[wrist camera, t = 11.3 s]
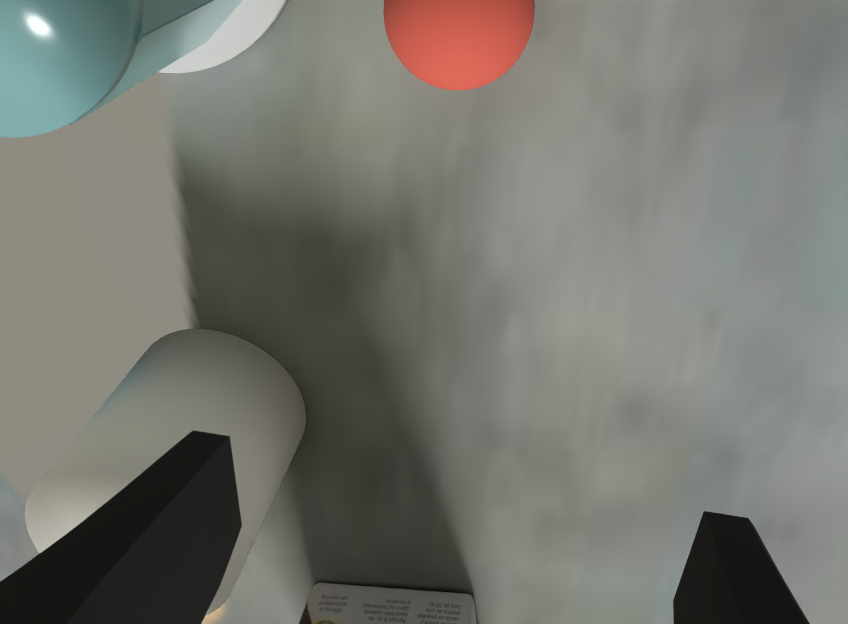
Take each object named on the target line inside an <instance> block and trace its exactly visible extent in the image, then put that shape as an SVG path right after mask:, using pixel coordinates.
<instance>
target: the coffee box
mask: <svg viewBox="0 0 848 624" xmlns="http://www.w3.org/2000/svg"><path fill="white" fill-rule="evenodd" d="M299 624H477V620H476V613H475V606H474V600H473V597H472V596H471V595H469V594H463V593H451V592H436V591H422V590H411V589H396V588H383V587H372V586H356V585H344V584H332V583H322V582H320V583H317V584H315V585H314V586H313V587H312V590H311V592H310V594H309V597H308V600H307V603H306V606H305V609H304V612H303V614H302V617H301V620H300V622H299Z"/></svg>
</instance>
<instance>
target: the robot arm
mask: <svg viewBox="0 0 848 624" xmlns="http://www.w3.org/2000/svg"><path fill="white" fill-rule="evenodd" d="M241 527H242V522H241V515H240V507H239V500H238V493H237V485H236V478H235V471H234V463H233V456H232V449H231V441H230V436H226V435H220V434H213V433H207V432H201V431H194V430H193V431H192V432H190V433H189V434H188V435H186V436H185V437H184V438H183V439H182V440H180V441H179V442H178V443H177V444H175V445H174V446H173V447H172V448H171V449H169V450H168V451H167V452H166V453H165V454H164V455H162V456H161V457H160V458H159V459H158V460H156V461H155V462H154V463H153V464H152V465H151V466H149V467H148V468H147V469H146V470H145V471H143V472H142V473H141V474H140V475H139V476H138V477H136V478H135V479H134V480H133V481H132V482H130V483H129V484H128V485H127V486H126V487H124V488H123V489H122V490H121V491H120V492H118V493H117V494H116V495H115V496H113V497H112V498H111V499H110V500H108V501H107V502H106V503H105V504H103V505H102V506H101V507H100V508H98V509H97V510H96V511H95V512H93V513H92V514H91V515H90V516H88V517H87V518H86V519H85V520H84V521H82V522H81V523H80V524H79V525H77V526H76V527H75V528H73V529H72V530H71V531H69V532H68V533H67V534H66V535H64V536H63V537H61V538H60V539H59V540H57V541H56V542H55V543H53V544H52V545H51V546H49V547H48V548H47V549H45V550H44V551H43V552H41V553H40V554H38V555H37V556H36V557H34V558H33V559H32V560H30V561H29V562H28V563H26V564H25V565H24V566H22V567H21V568H19V569H18V570H17V571H15V572H14V573H12V574H11V575H9V576H8V577H7V578H5V579H4V580H2V581H1V582H0V624H201V623H202V621H203V619H204V617H205V615H206V613H207V611H208V609H209V607H210V605H211V603H212V601H213V599H214V597H215V595H216V593H217V591H218V589H219V587H220V584H221V582H222V579H223V577H224V574H225V571H226V569H227V566H228V563H229V561H230V558H231V555H232V552H233V550H234V547H235V544H236V541H237V538H238V536H239V533H240V530H241ZM673 607H674V624H810V623H809V622H808V620H807V618H806V617H805V615H804V613H803V612H802V610H801V608H800V607H799V605H798V603H797V602H796V600H795V598H794V597H793V595H792V593H791V591H790V590H789V588H788V586H787V585H786V583H785V581H784V579H783V578H782V576H781V574H780V572H779V571H778V569H777V567H776V565H775V563H774V562H773V560H772V558H771V556H770V554H769V553H768V551H767V549H766V547H765V545H764V544H763V542H762V540H761V538H760V536H759V534H758V533H757V531H756V529H755V527H754V525H753V524H752V523H751V521H750V520H749V519H748V518H744V517H738V516H731V515H725V514H719V513H713V512H706V511H704V513H703V516H702V519H701V521H700V524H699V527H698V530H697V533H696V536H695V539H694V542H693V545H692V548H691V551H690V554H689V556H688V559H687V562H686V565H685V568H684V571H683V574H682V577H681V580H680V583H679V586H678V588H677V591H676V594H675V597H674V600H673Z"/></svg>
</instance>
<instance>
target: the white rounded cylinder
mask: <svg viewBox="0 0 848 624" xmlns="http://www.w3.org/2000/svg"><path fill="white" fill-rule="evenodd" d="M305 426H306V410H305V404H304V401H303V398H302V395H301V393H300V391H299V389H298V387H297V385H296V383H295V382H294V380H293V379H292V377H291V376H290V375H289V373H288V372H287V371H286V370H285V369H284V368H283V367H282V366H281V365H280V364H279V363H278V362H277V361H276V360H275V359H274V358H273V357H272V356H270V355H269V354H268V353H266V352H265V351H263V350H262V349H260V348H259V347H257V346H256V345H254V344H252V343H250V342H248V341H246V340H244V339H242V338H239V337H237V336H234V335H231V334H228V333H224V332H220V331H215V330H207V329H187V330H181V331H177V332H174V333H170V334H168V335H166V336H164V337H162V338H160V339H159V340H157V341H156V342H155V343H153V344H152V345H151V347H149V349H148V350H147V351H146V352H145V353H144V355H143V356H142V357H141V358H140V360H139V361H138V362H137V363H136V365H135V366H134V367H133V368H132V369H131V370H130V372H129V373H128V374H127V375H126V377H125V378H124V379H123V380H122V381H121V383H120V384H119V385H118V386H117V388H116V389H115V390H114V391H113V392H112V394H111V395H110V396H109V397H108V399H107V400H106V401H105V402H104V403H103V405H102V406H101V407H100V408H99V410H98V411H97V412H96V413H95V415H94V416H93V417H92V418H91V419H90V421H89V422H88V423H87V424H86V426H85V427H84V428H83V429H82V431H81V432H80V433H79V434H78V435H77V437H76V438H75V439H74V440H73V441H72V443H71V444H70V445H69V446H68V448H67V449H66V450H65V451H64V452H63V454H62V455H61V456H60V457H59V459H58V460H57V461H56V462H55V463H54V465H53V466H52V467H51V468H50V470H49V471H48V472H47V473H46V474H45V476H44V477H43V478H42V479H41V481H40V482H39V483H38V484H37V486H36V487H35V488H34V489H33V490H32V492H31V494H30V495H29V497H28V500H27V503H26V507H25V521H26V526H27V530H28V533H29V535H30V537H31V540H32V542H33V544H34V545H35V547H36V549H37V550H38V552H39V553H41V552H43V551H44V550H45V549H47V548H48V547H49V546H51V545H52V544H53V543H55V542H56V541H57V540H59V539H60V538H61V537H63V536H64V535H66V534H67V533H68V532H69V531H71V530H72V529H73V528H75V527H76V526H77V525H79V524H80V523H81V522H82V521H84V520H85V519H86V518H87V517H88V516H90V515H91V514H92V513H93V512H95V511H96V510H97V509H98V508H100V507H101V506H102V505H103V504H105V503H106V502H107V501H108V500H110V499H111V498H112V497H113V496H115V495H116V494H117V493H118V492H120V491H121V490H122V489H123V488H124V487H126V486H127V485H128V484H129V483H130V482H132V481H133V480H134V479H135V478H136V477H138V476H139V475H140V474H141V473H142V472H143V471H145V470H146V469H147V468H148V467H149V466H151V465H152V464H153V463H154V462H155V461H156V460H158V459H159V458H160V457H161V456H162V455H164V454H165V453H166V452H167V451H168V450H169V449H171V448H172V447H173V446H174V445H175V444H177V443H178V442H179V441H180V440H182V439H183V438H184V437H185V436H186V435H188V434H189V433H190V432H192V431H193V430H194V431H201V432H207V433H213V434H220V435H226V436H230V441H231V449H232V456H233V463H234V471H235V478H236V485H237V493H238V500H239V507H240V515H241V522H242V527H241V530H240V533H239V536H238V538H237V541H236V544H235V547H234V550H233V552H232V555H231V558H230V561H229V563H228V566H227V569H226V571H225V574H224V577H223V579H222V582H221V584H220V587H219V589H218V591H217V593H216V595H215V597H214V599H213V601H212V603H211V605H210V607H209V609H208V611H207V613H206V615H207V614H210V613H212V612H213V611H215V610H216V609H218V608H219V607H220V606H222V605H223V604H224V603H225V601H226V600H227V599H228V597H229V596H230V594H231V591H232V589H233V587H234V585H235V583H236V580H237V578H238V576H239V574H240V572H241V570H242V567H243V565H244V563H245V561H246V559H247V557H248V554H249V552H250V550H251V548H252V546H253V543H254V541H255V539H256V537H257V535H258V533H259V530H260V528H261V526H262V524H263V522H264V519H265V517H266V515H267V513H268V511H269V509H270V506H271V504H272V502H273V500H274V498H275V496H276V493H277V491H278V489H279V487H280V485H281V482H282V480H283V478H284V476H285V474H286V472H287V469H288V467H289V465H290V463H291V461H292V458H293V456H294V454H295V452H296V450H297V448H298V445H299V443H300V441H301V439H302V436H303V434H304V431H305Z"/></svg>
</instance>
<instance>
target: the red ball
mask: <svg viewBox="0 0 848 624" xmlns="http://www.w3.org/2000/svg"><path fill="white" fill-rule="evenodd" d="M534 9H535V6H534V0H384V22H385V28H386V32H387V36H388V39H389V42H390V44H391V46H392V48H393V50H394V52H395V54H396V55H397V57H398V58H399V60H400V61H401V62H402V64H403V65H404V66H405V67H406V68H407V69H408V70H409V71H410V72H411V73H412V74H414V75H415V76H416V77H417V78H419V79H421V80H422V81H424V82H426V83H428V84H431V85H433V86H436V87H439V88H443V89H449V90H468V89H473V88H477V87H481V86H483V85H486V84H488V83H490V82H492V81H494V80H495V79H497V78H499V77H500V76H501V75H503V74H504V73H505V72H506V71H508V70H509V69H510V68H511V67H512V66H513V65H514V63H515V62H516V61H517V60H518V58H519V57H520V55H521V53H522V52H523V50H524V49H525V47H526V44H527V42H528V40H529V37H530V34H531V31H532V27H533V21H534Z"/></svg>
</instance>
